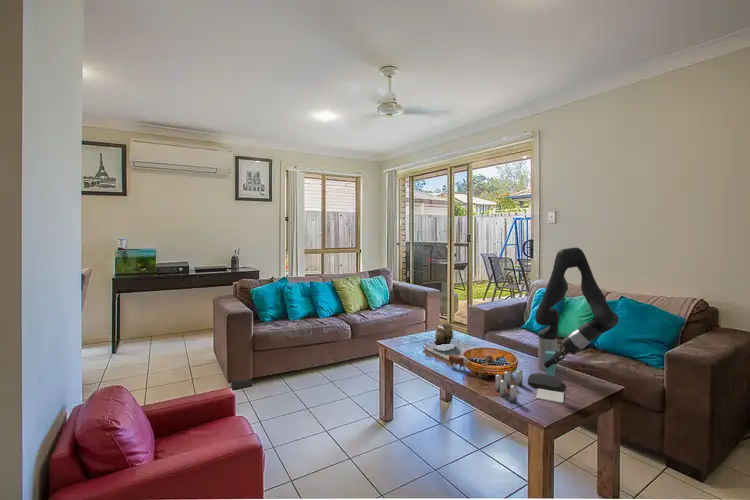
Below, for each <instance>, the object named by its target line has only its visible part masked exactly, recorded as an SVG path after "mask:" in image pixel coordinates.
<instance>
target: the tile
mask: <svg viewBox="0 0 750 500" xmlns="http://www.w3.org/2000/svg"><path fill="white" fill-rule="evenodd" d="M564 395H565V393H564V392H562V391H551V390H545V389H539V388H537V390H536V396H535V399H536V400H541V401H546V402H547V401H549V402H552V403H553V402H554V403H558V404H564V397H565V396H564Z"/></svg>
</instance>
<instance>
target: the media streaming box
mask: <svg viewBox="0 0 750 500" xmlns="http://www.w3.org/2000/svg"><path fill="white" fill-rule="evenodd" d="M527 385H528V386H530V387H532V388H535V389H538V388H539V389H545V390H551V391H557V392H560V391H561V388H562V386H563V379H562V378H560V377H558V376H556V375H555V376H549V375H545V373H530V375H528V377H527Z"/></svg>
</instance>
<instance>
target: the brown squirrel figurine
mask: <svg viewBox="0 0 750 500" xmlns="http://www.w3.org/2000/svg"><path fill="white" fill-rule="evenodd" d="M441 325H442V327H440V326H439V327H437V328H436V331H435V337H434V341H433V343H434V345H435V344H436V345H441V344H450V342H452V340H453V338H454V330H453V327H452V325H451V323H448V322H445V321H444V322H442V324H441Z"/></svg>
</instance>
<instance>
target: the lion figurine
mask: <svg viewBox="0 0 750 500" xmlns="http://www.w3.org/2000/svg"><path fill="white" fill-rule="evenodd" d="M483 359H484V361H485V360H486V361H485V362H486V363H481V365H482V366H486V365H488V364H489V363H493V364H494V359H493V356H492V355H489V354H486V355H485V357H484V358H483ZM484 375H485V377H486V374H485V373H484ZM478 378H481V379H483V378H484V377H483V370H482V368H481V372H480V371H479V372H478Z"/></svg>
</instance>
